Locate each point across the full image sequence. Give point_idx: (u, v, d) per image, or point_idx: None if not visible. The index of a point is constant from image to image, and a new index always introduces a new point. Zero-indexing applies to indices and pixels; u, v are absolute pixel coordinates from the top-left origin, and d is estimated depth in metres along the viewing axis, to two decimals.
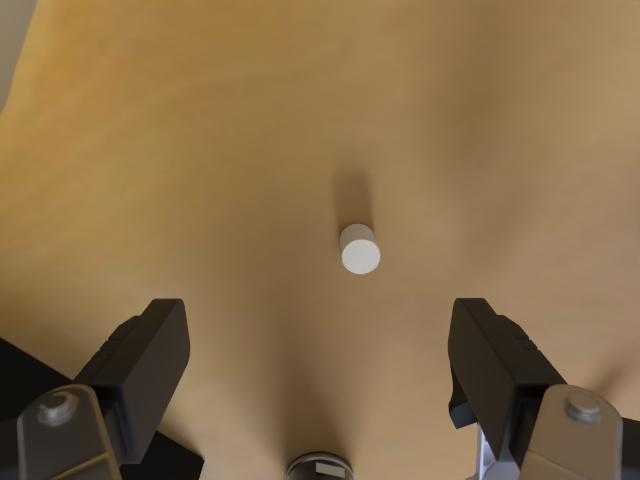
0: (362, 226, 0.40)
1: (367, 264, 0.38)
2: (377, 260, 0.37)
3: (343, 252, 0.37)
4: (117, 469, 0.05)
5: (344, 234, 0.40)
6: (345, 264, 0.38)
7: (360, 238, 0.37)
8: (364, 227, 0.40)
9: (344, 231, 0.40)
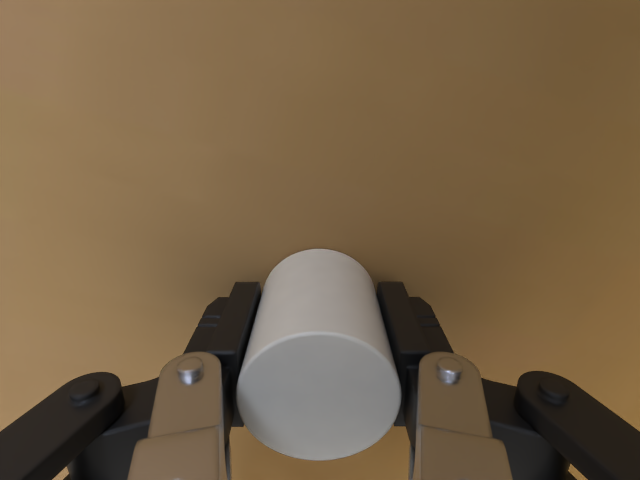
0: None
1: (284, 377, 0.08)
2: (245, 396, 0.09)
3: (395, 411, 0.09)
4: (217, 446, 0.06)
5: None
6: (382, 368, 0.08)
7: (330, 453, 0.10)
8: None
9: None
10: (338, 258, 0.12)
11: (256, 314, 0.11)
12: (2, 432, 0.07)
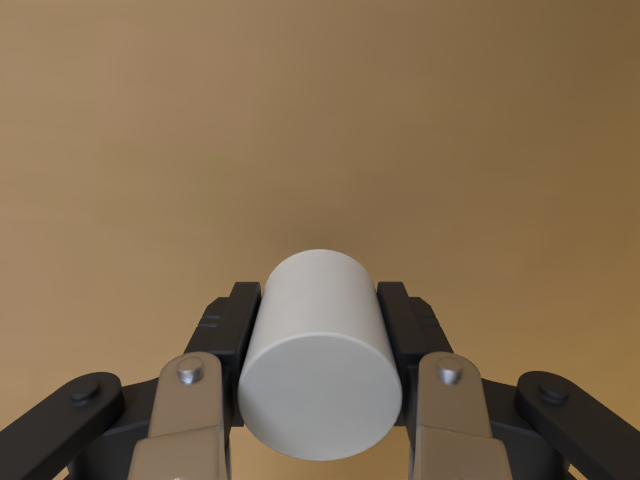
0: None
1: (285, 377, 0.08)
2: (246, 397, 0.09)
3: (396, 411, 0.09)
4: (217, 447, 0.06)
5: None
6: (384, 369, 0.08)
7: (330, 453, 0.10)
8: None
9: None
10: (339, 258, 0.12)
11: (257, 315, 0.11)
12: (2, 432, 0.07)
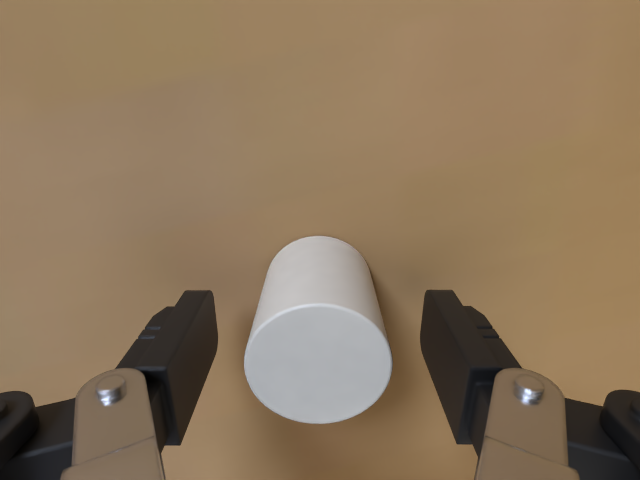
0: None
1: (287, 345, 0.09)
2: (252, 363, 0.10)
3: (387, 377, 0.10)
4: (156, 456, 0.05)
5: None
6: (375, 337, 0.09)
7: (328, 417, 0.11)
8: None
9: None
10: (337, 244, 0.13)
11: (261, 294, 0.12)
12: None
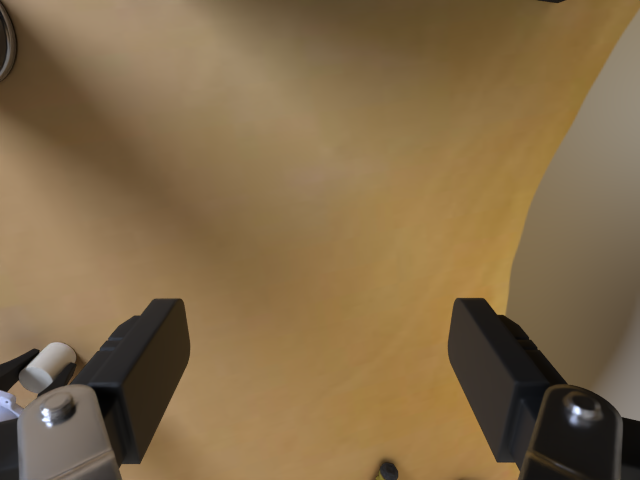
0: None
1: (27, 375, 0.43)
2: (20, 379, 0.43)
3: None
4: (117, 469, 0.05)
5: None
6: (45, 373, 0.43)
7: None
8: None
9: None
10: (59, 345, 0.46)
11: None
12: None
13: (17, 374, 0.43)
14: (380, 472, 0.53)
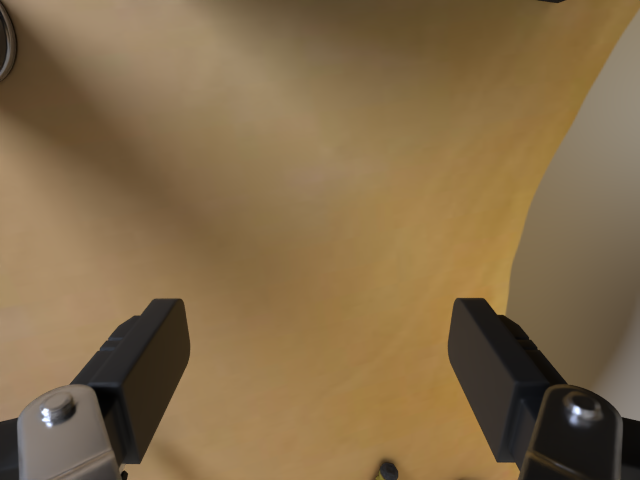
0: None
1: None
2: None
3: None
4: (117, 469, 0.05)
5: None
6: None
7: None
8: None
9: None
10: None
11: None
12: None
13: None
14: (380, 472, 0.53)
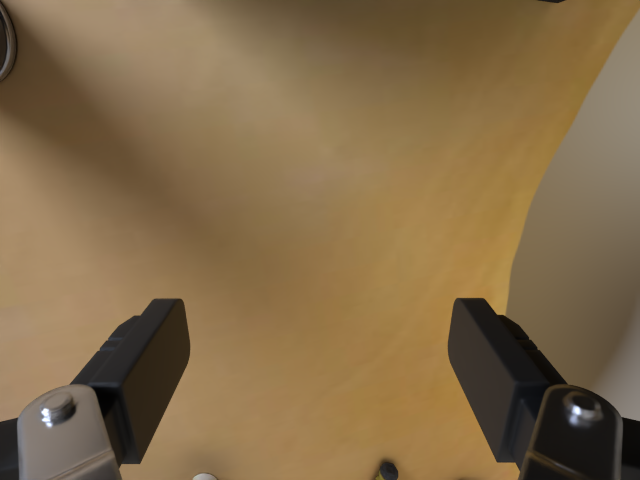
0: None
1: None
2: None
3: None
4: (117, 469, 0.05)
5: None
6: None
7: None
8: None
9: None
10: None
11: None
12: None
13: None
14: (380, 472, 0.53)
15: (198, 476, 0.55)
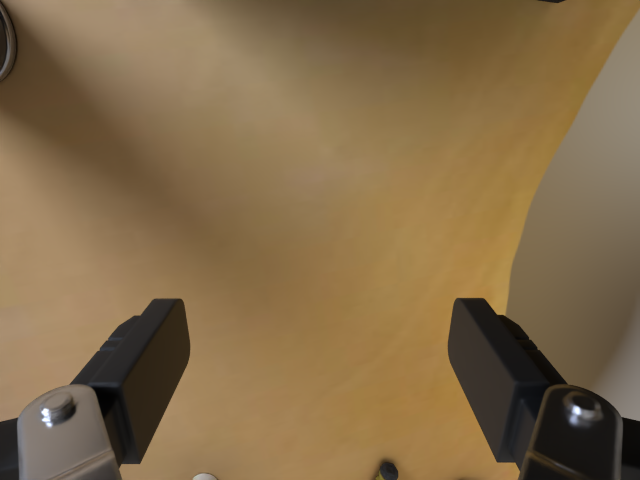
0: None
1: None
2: None
3: None
4: (117, 469, 0.05)
5: None
6: None
7: None
8: None
9: None
10: None
11: None
12: None
13: None
14: (380, 472, 0.53)
15: (198, 476, 0.55)
